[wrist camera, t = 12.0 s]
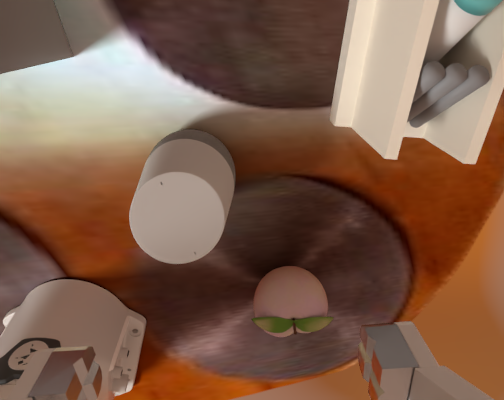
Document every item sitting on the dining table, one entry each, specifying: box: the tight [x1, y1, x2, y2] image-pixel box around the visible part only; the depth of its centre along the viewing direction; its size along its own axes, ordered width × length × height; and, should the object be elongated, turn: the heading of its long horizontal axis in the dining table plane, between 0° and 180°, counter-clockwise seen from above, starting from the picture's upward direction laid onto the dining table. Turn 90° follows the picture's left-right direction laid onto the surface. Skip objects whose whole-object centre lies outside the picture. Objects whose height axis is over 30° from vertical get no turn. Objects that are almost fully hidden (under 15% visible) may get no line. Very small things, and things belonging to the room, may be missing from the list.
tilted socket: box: [329, 0, 504, 164], centre depth 31 cm, size 14×11×12 cm
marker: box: [421, 0, 503, 68], centre depth 29 cm, size 3×3×11 cm
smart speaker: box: [129, 130, 236, 264], centre depth 35 cm, size 10×9×14 cm
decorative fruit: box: [252, 266, 333, 337], centre depth 44 cm, size 9×8×10 cm
